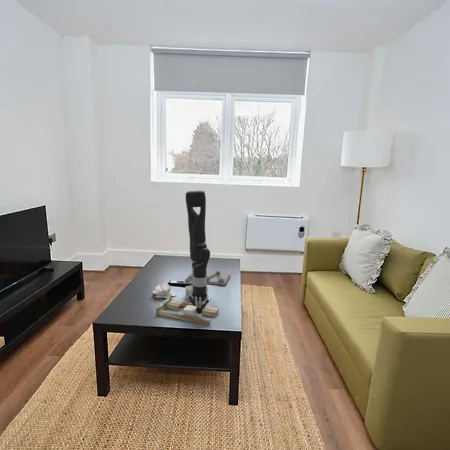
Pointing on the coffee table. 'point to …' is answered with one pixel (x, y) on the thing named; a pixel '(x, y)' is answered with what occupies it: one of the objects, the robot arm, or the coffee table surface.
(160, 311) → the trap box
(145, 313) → the coffee table surface
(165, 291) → the lotus flower
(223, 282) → the grey board with linkage
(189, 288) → the supplement box
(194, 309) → the cream block
